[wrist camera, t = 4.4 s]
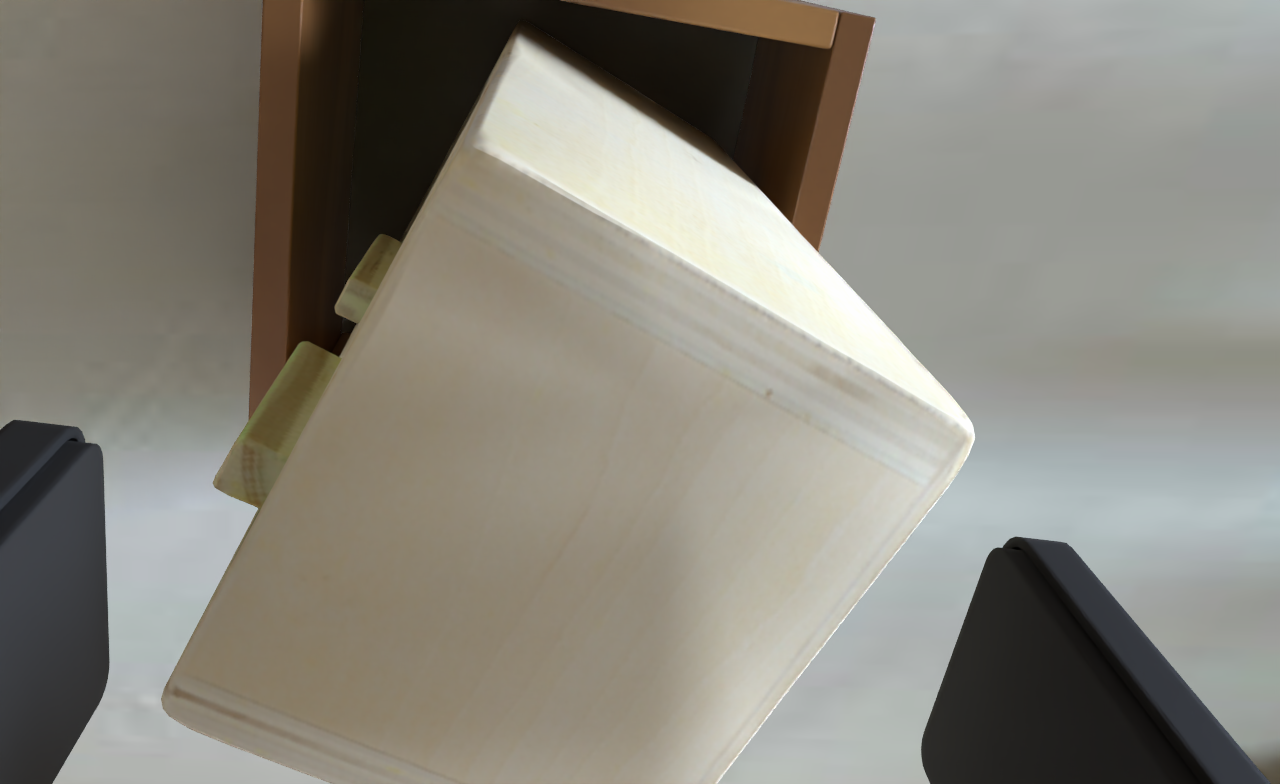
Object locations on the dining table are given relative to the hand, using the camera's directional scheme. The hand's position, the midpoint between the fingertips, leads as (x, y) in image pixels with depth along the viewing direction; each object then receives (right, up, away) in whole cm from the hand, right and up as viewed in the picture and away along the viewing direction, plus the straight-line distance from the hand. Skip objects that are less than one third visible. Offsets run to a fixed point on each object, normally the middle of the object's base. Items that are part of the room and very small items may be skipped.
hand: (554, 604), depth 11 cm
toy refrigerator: (-2, +9, +20) cm, 22 cm away
